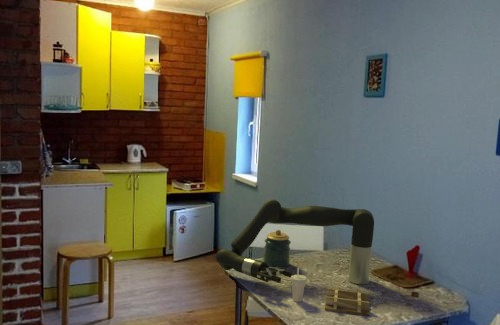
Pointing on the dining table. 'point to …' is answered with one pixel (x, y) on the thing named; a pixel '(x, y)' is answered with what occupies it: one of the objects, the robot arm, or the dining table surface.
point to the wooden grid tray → (347, 301)
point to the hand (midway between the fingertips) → (286, 277)
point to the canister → (277, 249)
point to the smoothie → (298, 286)
